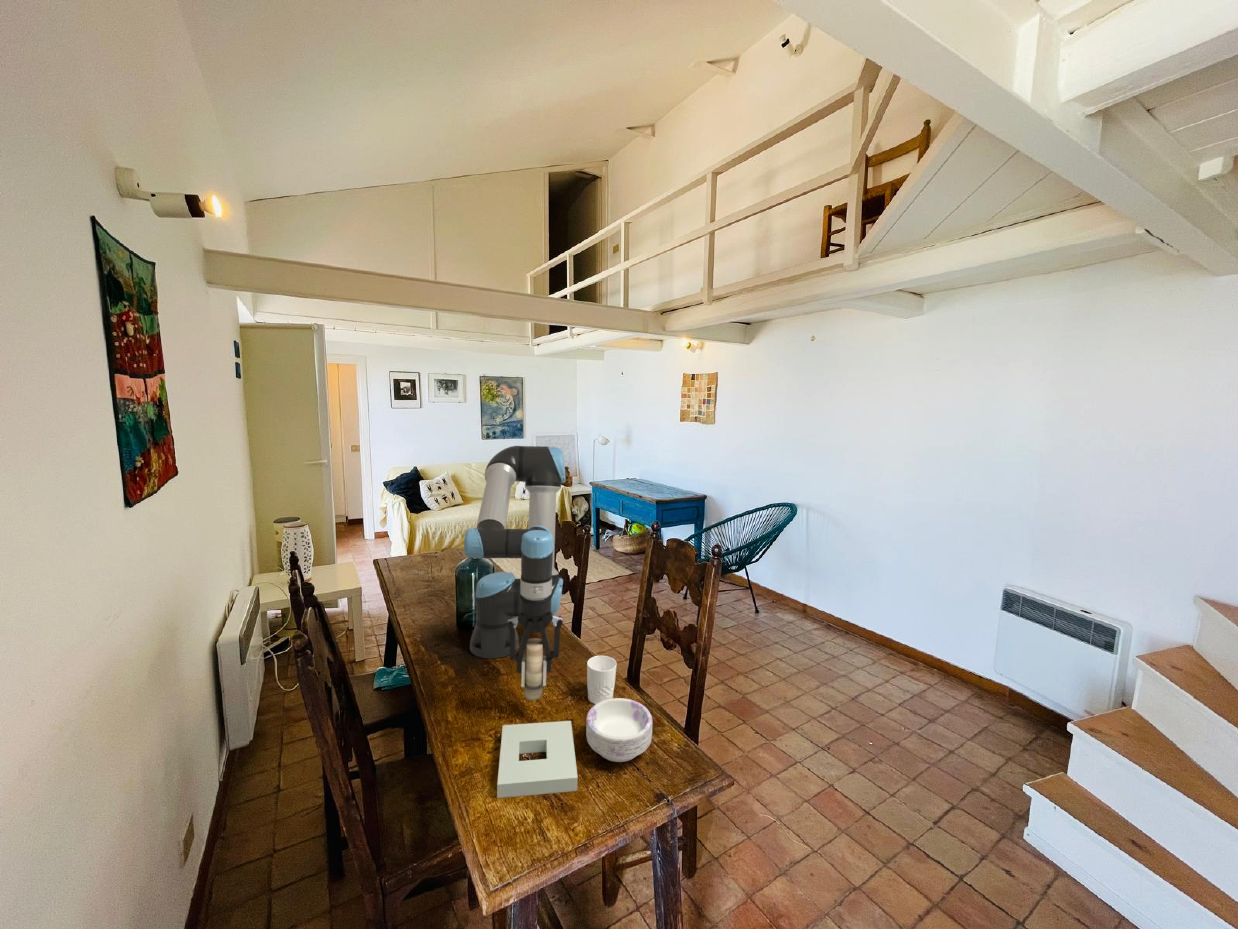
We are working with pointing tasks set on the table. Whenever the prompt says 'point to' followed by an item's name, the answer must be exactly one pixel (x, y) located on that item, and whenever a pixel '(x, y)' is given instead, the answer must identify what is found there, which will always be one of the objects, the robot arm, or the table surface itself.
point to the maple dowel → (533, 669)
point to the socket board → (542, 773)
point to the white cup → (600, 678)
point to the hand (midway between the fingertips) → (533, 683)
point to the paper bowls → (619, 729)
